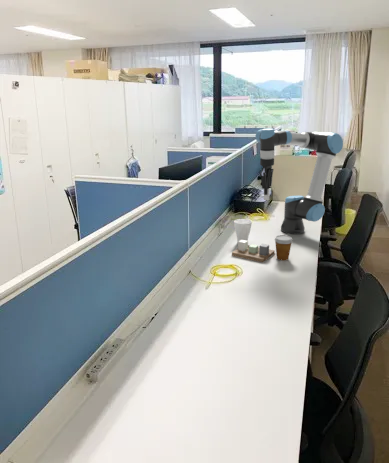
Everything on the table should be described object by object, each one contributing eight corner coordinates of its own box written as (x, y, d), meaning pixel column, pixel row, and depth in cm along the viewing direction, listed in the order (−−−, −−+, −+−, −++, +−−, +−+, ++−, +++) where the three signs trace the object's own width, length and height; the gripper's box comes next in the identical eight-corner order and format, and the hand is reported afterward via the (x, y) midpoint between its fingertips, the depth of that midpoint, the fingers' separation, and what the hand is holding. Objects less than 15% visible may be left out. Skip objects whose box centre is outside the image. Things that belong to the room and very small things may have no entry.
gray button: (262, 252, 228) (262, 243, 227) (268, 253, 226) (269, 245, 225) (259, 254, 225) (259, 245, 224) (265, 255, 223) (266, 247, 221)
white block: (241, 247, 235) (241, 239, 234) (247, 249, 233) (248, 240, 232) (238, 249, 232) (238, 241, 231) (244, 251, 230) (244, 242, 228)
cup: (250, 239, 253) (251, 218, 249) (251, 245, 243) (252, 224, 239) (233, 239, 254) (234, 218, 250) (233, 245, 244) (234, 223, 240)
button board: (244, 247, 241) (244, 244, 240) (274, 253, 231) (274, 250, 230) (231, 255, 229) (231, 252, 228) (263, 262, 219) (263, 259, 218)
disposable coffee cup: (290, 255, 228) (291, 234, 224) (292, 261, 219) (293, 240, 215) (272, 255, 229) (273, 234, 225) (274, 261, 220) (275, 240, 216)
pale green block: (251, 252, 232) (251, 244, 231) (258, 253, 230) (258, 245, 229) (248, 254, 229) (248, 246, 228) (254, 256, 227) (255, 247, 225)
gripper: (265, 155, 231) (265, 196, 239) (255, 159, 221) (255, 201, 228) (278, 156, 227) (277, 197, 235) (268, 160, 217) (268, 203, 224)
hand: (266, 199), depth 232 cm, fingers closed
